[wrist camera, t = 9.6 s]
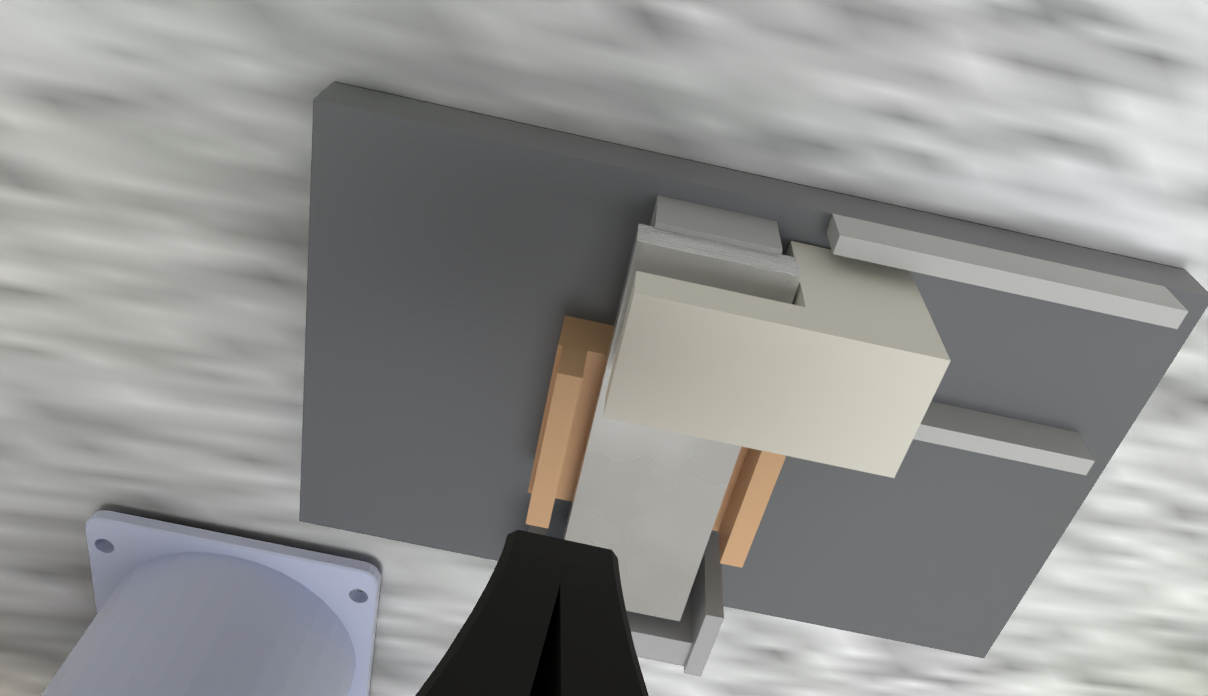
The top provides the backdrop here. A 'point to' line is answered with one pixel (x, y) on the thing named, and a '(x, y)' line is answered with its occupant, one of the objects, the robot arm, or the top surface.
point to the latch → (784, 363)
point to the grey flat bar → (664, 441)
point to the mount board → (759, 479)
